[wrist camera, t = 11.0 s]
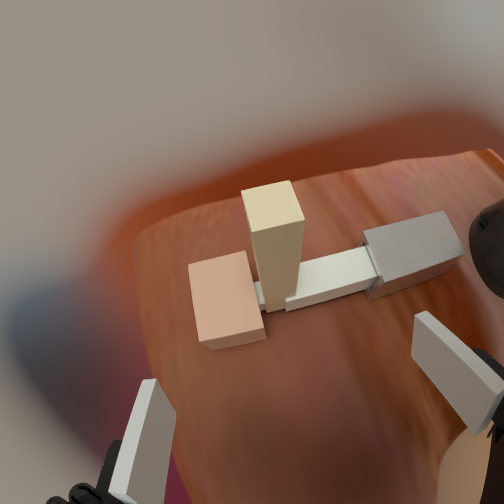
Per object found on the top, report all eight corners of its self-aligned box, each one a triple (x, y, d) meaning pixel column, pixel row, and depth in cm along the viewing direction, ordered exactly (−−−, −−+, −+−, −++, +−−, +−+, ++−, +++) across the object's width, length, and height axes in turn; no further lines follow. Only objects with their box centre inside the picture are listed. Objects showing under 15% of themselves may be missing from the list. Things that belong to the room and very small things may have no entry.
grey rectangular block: (425, 235, 34) (443, 210, 28) (443, 273, 31) (465, 253, 26) (351, 256, 34) (362, 230, 28) (368, 301, 31) (384, 282, 25)
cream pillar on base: (387, 252, 32) (443, 152, 17) (398, 278, 30) (468, 188, 15) (225, 294, 32) (176, 203, 17) (231, 324, 30) (181, 254, 15)
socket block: (251, 273, 34) (245, 250, 29) (267, 338, 30) (263, 327, 25) (202, 285, 34) (187, 264, 28) (214, 350, 30) (199, 341, 25)
